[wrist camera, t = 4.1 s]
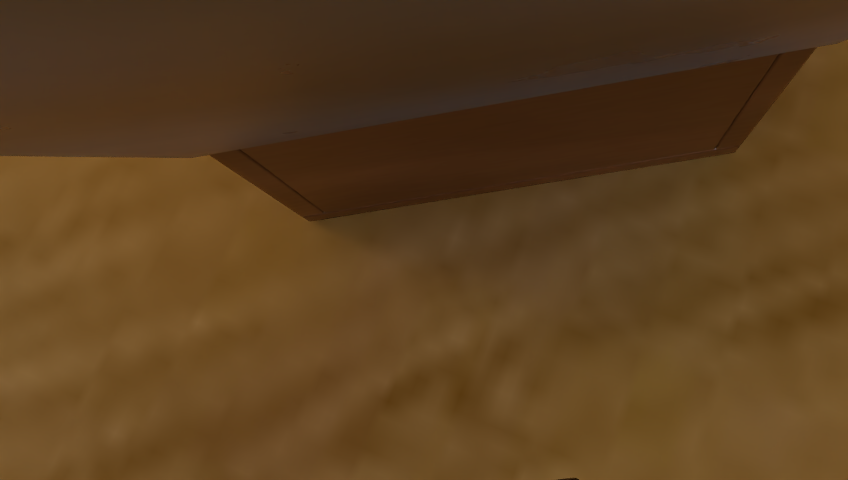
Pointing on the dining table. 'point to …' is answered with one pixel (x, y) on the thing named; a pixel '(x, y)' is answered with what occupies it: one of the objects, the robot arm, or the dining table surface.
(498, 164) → the chest
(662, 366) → the dining table surface
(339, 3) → the lid
